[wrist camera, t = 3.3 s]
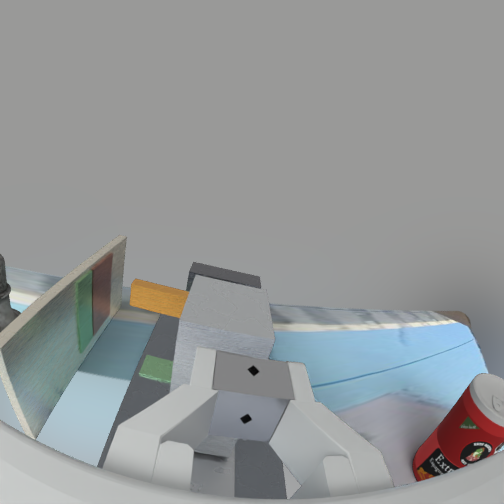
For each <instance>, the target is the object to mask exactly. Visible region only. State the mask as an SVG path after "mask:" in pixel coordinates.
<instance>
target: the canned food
mask: <svg viewBox="0 0 504 504" xmlns="http://www.w3.org/2000/svg"><path fill="white" fill-rule="evenodd" d="M503 445H504V380H503V379H501V378H499V377H497V376H495V375H492V374H487V373H481V374H478V375H476V376H475V378H474V379H473V380H472V381H471V383H470V384H469V386H468V387H467V388H466V390H465V391H464V393H463V394H462V395H461V397H460V398H459V400H458V401H457V402H456V404H455V405H454V406H453V408H452V409H451V410H450V412H449V413H448V414H447V416H446V417H445V418H444V419H443V421H442V422H441V423H440V424H439V426H438V427H437V428H436V429H435V430H434V432H433V433H432V434H431V435H430V436H429V437H428V439H427V440H426V441H425V442H424V443H423V444H422V445H421V446H420V448H419V449H418V451H417V453H416V455H415V457H414V460H413V472H414V475H415V477H416V479H417V481H418V482H419V481H423V480H426V479H430V478H433V477H436V476H439V475H443V474H446V473H449V472H452V471H454V470H457V469H460V468H463V467H465V466H468V465H471V464H473V463H476V462H478V461H480V460H483V459H485V458H487V457H490V456H492V455H494V454H496V453H497V452H498V451H499V450H500V449H501V447H502V446H503Z"/></svg>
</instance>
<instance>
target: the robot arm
mask: <svg viewBox="0 0 504 504" xmlns="http://www.w3.org/2000/svg"><path fill="white" fill-rule="evenodd" d="M208 435H214V436H222V437H230V438H239V439H246V440H254V441H263V442H269V444H270V446H271V447H272V448H273V450H274V451H275V452H276V454H277V455H278V456H279V458H280V459H281V460H282V462H283V463H284V464H285V466H286V467H287V468H288V469H289V471H290V472H291V473H292V475H293V476H294V477H295V478H296V479H297V481H298V482H299V483H300V485H301V487H300V488H299V489H298V490H297V491H296V492H295V494H294V495H293V496H292V497H291V498H290V499H254V498H239V497H228V496H218V495H210V494H203V493H196V492H190V483H191V474H192V464H193V455H194V449H195V448H196V447H197V446H198V445H199V444H200V443H201V442H202V441H203V440H204V439H205V438H206V437H207V436H208ZM0 504H504V450H503V451H501V452H498V453H496V454H494V455H492V456H490V457H487V458H485V459H483V460H480V461H478V462H476V463H473V464H471V465H468V466H465V467H463V468H460V469H457V470H454V471H452V472H449V473H446V474H443V475H439V476H436V477H433V478H430V479H426V480H423V481H419V482H415V483H411V484H407V485H403V486H399V487H394V484H393V482H392V479H391V476H390V474H389V471H388V469H387V466H386V464H385V461H384V459H383V456H382V454H381V451H379V450H378V449H377V448H376V447H374V446H373V445H372V444H370V443H369V442H368V441H367V440H365V439H364V438H363V437H362V436H360V435H359V434H358V433H357V432H355V431H354V430H353V429H352V428H351V427H349V426H348V425H347V424H346V423H345V422H343V421H342V420H341V419H340V418H339V417H337V416H336V415H335V414H334V413H333V412H331V411H330V410H329V409H328V408H327V407H326V406H324V405H323V404H322V403H321V402H316V401H315V398H314V394H313V391H312V387H311V384H310V381H309V377H308V374H307V370H306V367H305V365H304V364H303V363H299V362H289V361H286V362H283V361H276V360H269V359H262V358H256V357H251V356H246V355H241V354H236V353H231V352H226V351H221V350H216V349H211V348H206V347H202V346H198V348H197V351H196V356H195V361H194V365H193V370H192V375H191V380H190V385H188V384H183V385H181V386H180V387H178V388H177V389H175V390H174V391H172V392H171V393H169V394H168V395H166V396H165V397H163V398H162V399H160V400H158V401H157V402H155V403H154V404H152V405H151V406H149V407H147V408H146V409H144V410H143V411H141V412H139V413H138V414H136V415H135V416H133V417H131V418H130V419H128V420H126V421H125V422H123V423H121V424H120V425H118V428H117V430H116V433H115V436H114V438H113V441H112V443H111V446H110V449H109V452H108V454H107V457H106V460H105V462H104V465H103V468H102V469H101V468H99V467H96V466H93V465H90V464H88V463H85V462H83V461H80V460H78V459H75V458H73V457H70V456H68V455H66V454H64V453H61V452H59V451H57V450H55V449H53V448H50V447H49V446H46V445H44V444H42V443H40V442H38V441H36V440H35V439H33V438H31V437H29V436H27V435H25V434H23V433H22V432H20V431H18V430H16V429H15V428H13V427H11V426H10V425H8V424H6V423H5V422H3V421H1V420H0Z"/></svg>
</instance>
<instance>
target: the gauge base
mask: <svg viewBox="0 0 504 504" xmlns="http://www.w3.org/2000/svg"><path fill="white" fill-rule="evenodd" d="M126 239H127V237H126V236H122V235H119V236H118V237H116V238H115V239H113V240H112V241H111V242H109V243H108V244H107V245H105V246H104V247H103V248H101V249H100V250H99V251H97V252H96V253H95V254H93V255H92V256H91V257H90V258H88V259H87V260H85V261H84V262H83V263H81V264H80V265H79V266H78V267H76V268H75V269H74V270H72V271H71V272H70V273H69V274H67V275H66V276H65V277H64V278H62V279H61V280H60V281H59V282H58V283H56V284H55V285H54V286H53V287H51V288H50V289H49V290H48V291H47V292H45V293H44V294H43V295H42V296H41V297H40V298H38V299H37V300H36V301H35V302H34V303H33V304H31V305H30V306H29V307H28V308H27V309H26V310H25V311H23V312H22V313H21V314H20V315H19V316H18V317H17V318H16V319H15V320H13V321H12V322H11V323H10V324H9V325H8V326H7V327H6V328H5V329H4V330H3V331H2V332H1V333H0V376H1V379H2V382H3V384H4V387H5V389H6V392H7V395H8V397H9V399H10V402H11V404H12V406H13V409H14V411H15V413H16V415H17V418H18V420H19V422H20V424H21V426H22V428H23V430H24V432H25V434H26V435H27V436H29V437H31V438H33V439H35V440H36V438H37V437H38V435H39V433H40V431H41V429H42V428H43V426H44V424H45V422H46V421H47V419H48V417H49V415H50V414H51V412H52V410H53V409H54V407H55V405H56V404H57V402H58V400H59V399H60V397H61V395H62V394H63V392H64V390H65V389H66V387H67V386H68V384H69V382H70V381H71V379H72V378H73V376H74V375H75V373H76V371H77V370H78V368H79V367H80V365H81V364H82V362H83V361H84V359H85V358H86V356H87V355H88V353H89V352H90V350H91V349H92V347H93V346H94V344H95V343H96V341H97V340H98V338H99V337H100V335H101V334H102V332H103V331H104V329H105V328H106V327H107V325H108V324H109V322H110V321H111V319H112V318H113V317H114V315H115V314H116V312H117V311H118V310H119V308H120V307H121V300H122V282H123V270H124V259H125V248H126ZM195 275H200V276H204V277H208V278H213V279H217V280H222V281H226V282H231V283H235V284H240V285H245V286H249V287H254V288H259V289H261V283H260V277H258V276H254V275H250V274H245V273H241V272H236V271H232V270H227V269H222V268H218V267H213V266H209V265H204V264H200V263H196V262H193V264H192V267H191V269H190V271H189V277H188V282H187V289H186V291H188V292H190V289H191V286H192V284H193V281H194V278H195ZM179 320H180V318H177V317H173V316H169V315H165V314H161V315H160V317H159V319H158V321H157V323H156V326H155V328H154V330H153V332H152V334H151V336H150V339H149V341H148V343H147V345H146V348H145V350H144V352H143V354H142V357H141V359H140V361H139V363H138V366H137V368H136V370H135V373H134V375H133V377H132V380H131V382H130V384H129V387H128V389H127V392H126V394H125V396H124V399H123V401H122V403H121V406H120V408H119V411H118V414H117V416H116V418H115V421H114V423H113V426H112V429H111V431H110V434H109V436H108V439H107V442H106V444H105V447H104V450H103V452H102V455H101V458H100V460H99V463H98V466H97V467H99V468H101V469H102V468H103V465H104V462H105V460H106V457H107V454H108V452H109V449H110V446H111V443H112V441H113V438H114V436H115V433H116V430H117V428H118V425H120V424H121V423H123V422H125V421H126V420H128V419H130V418H131V417H133V416H135V415H136V414H138V413H139V412H141V411H143V410H144V409H146V408H147V407H149V406H151V405H152V404H154V403H155V402H157V401H158V400H160V399H162V398H163V397H165V396H166V395H168V394H169V393H170V386H171V377H172V369H173V362H174V354H175V347H176V340H177V333H178V326H179ZM268 359H269V358H268ZM190 492H196V493H203V494H210V495H218V496H228V497H239V498H254V499H287V497H286V488H285V480H284V472H283V463H282V460H281V459H280V458H279V456H278V455H277V454H276V452H275V451H274V450H273V448H272V447H271V446H270V444H269V442H263V441H254V440H246V439H239V438H237V441H236V443H235V445H234V448H233V450H232V453H231V455H230V457H224V456H217V455H210V454H204V453H198V452H194V455H193V464H192V474H191V483H190Z"/></svg>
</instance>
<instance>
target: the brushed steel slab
mask: <svg viewBox="0 0 504 504" xmlns="http://www.w3.org/2000/svg"><path fill="white" fill-rule="evenodd" d="M130 305H131V306H134V307H138V308H142V309H146V310H149V311H153V312H157V313H161V314H165V315H169V316H173V317H177V318H180V320H179V326H178V333H177V340H176V347H175V354H174V362H173V369H172V377H171V386H170V393H171V392H172V391H174V390H175V389H177V388H178V387H180V386H181V385H183V384H188V385H190V380H191V375H192V370H193V365H194V361H195V356H196V351H197V348H198V346H202V347H206V348H211V349H216V350H221V351H226V352H231V353H236V354H241V355H246V356H251V357H256V358H262V359H268V358H269V355H270V353H271V350H272V347H273V344H274V341H275V336H274V330H273V324H272V318H271V312H270V307H269V301H268V296H267V290H264V289H259V288H254V287H249V286H245V285H240V284H235V283H231V282H226V281H222V280H217V279H213V278H208V277H204V276H200V275H195V278H194V281H193V284H192V286H191V289H190V292H188V291H184V290H179V289H176V288H171V287H167V286H163V285H159V284H155V283H151V282H147V281H143V280H139V279H135V280H134V281H133V283H132V284H131V295H130ZM236 441H237V438H230V437H222V436H214V435H208V436H207V437H206V438H205V439H204V440H203V441H202V442H201V443H200V444H199V445H198V446H197V447H196V448H195V449H194V452H198V453H204V454H210V455H217V456H224V457H230V455H231V453H232V450H233V448H234V445H235V443H236Z"/></svg>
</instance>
